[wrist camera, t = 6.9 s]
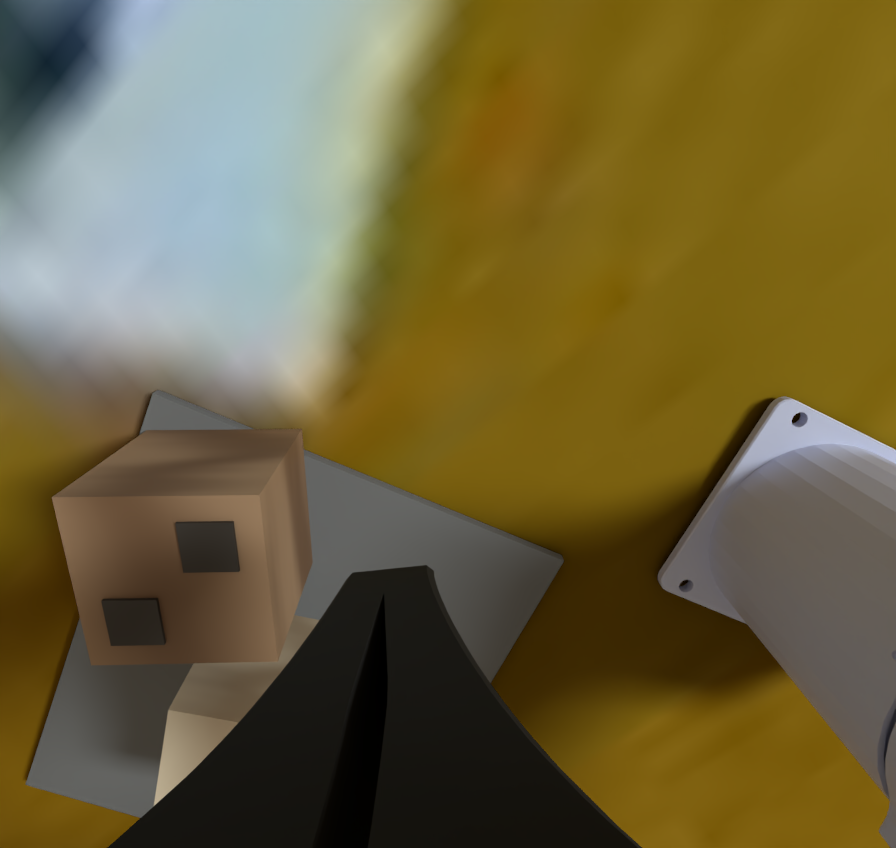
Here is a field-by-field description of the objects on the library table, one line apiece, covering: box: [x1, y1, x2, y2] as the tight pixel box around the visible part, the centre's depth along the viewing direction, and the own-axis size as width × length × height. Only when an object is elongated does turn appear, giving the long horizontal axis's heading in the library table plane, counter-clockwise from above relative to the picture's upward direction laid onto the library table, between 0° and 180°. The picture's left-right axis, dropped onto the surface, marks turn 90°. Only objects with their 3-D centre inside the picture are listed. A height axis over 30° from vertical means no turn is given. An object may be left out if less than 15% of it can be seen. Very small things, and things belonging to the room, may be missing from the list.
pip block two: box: [52, 429, 313, 665], centre depth 17 cm, size 5×5×5 cm
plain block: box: [154, 615, 319, 806], centre depth 20 cm, size 5×5×5 cm
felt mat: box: [26, 390, 564, 818], centre depth 22 cm, size 15×18×1 cm
